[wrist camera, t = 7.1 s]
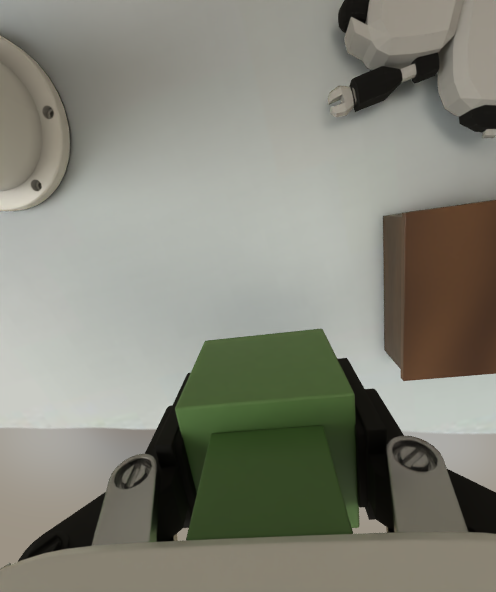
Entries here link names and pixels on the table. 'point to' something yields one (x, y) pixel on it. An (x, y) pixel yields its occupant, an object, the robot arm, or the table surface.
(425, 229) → the walnut plinth
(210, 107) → the table surface
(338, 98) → the robot toy
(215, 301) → the table surface
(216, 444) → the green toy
